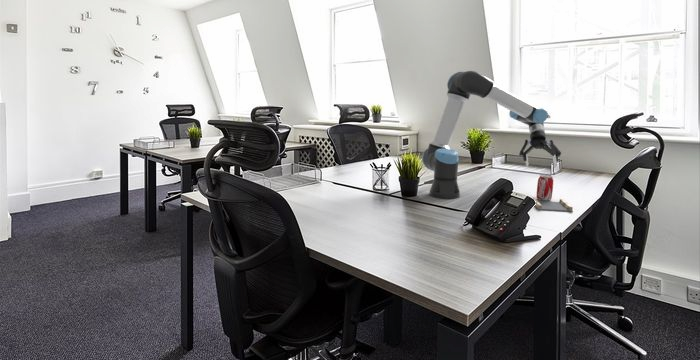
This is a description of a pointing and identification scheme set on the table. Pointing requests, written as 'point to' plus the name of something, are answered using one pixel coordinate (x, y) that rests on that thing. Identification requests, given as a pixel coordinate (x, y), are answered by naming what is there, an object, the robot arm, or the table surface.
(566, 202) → the guide rails
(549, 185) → the soda can
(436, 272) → the table surface
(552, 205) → the mat
